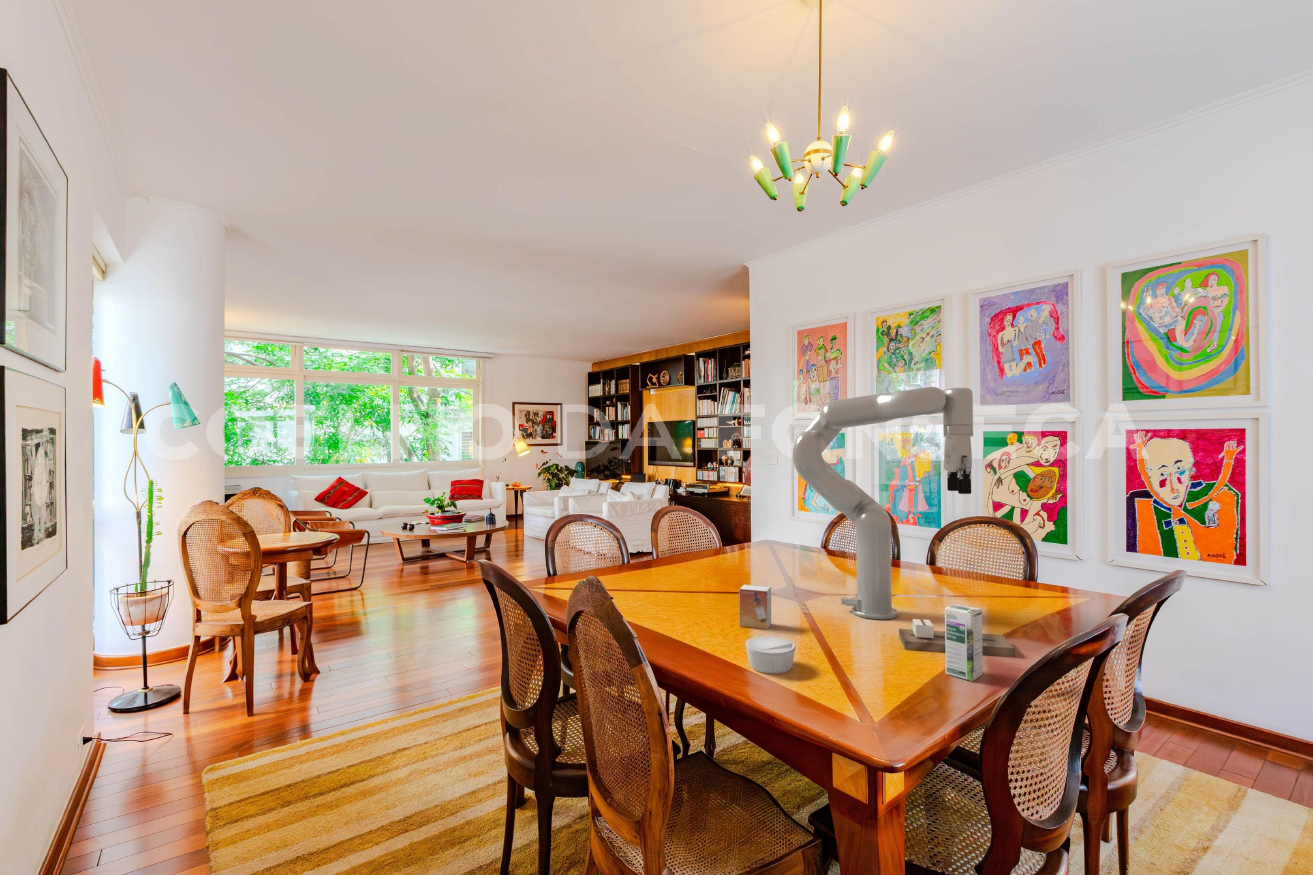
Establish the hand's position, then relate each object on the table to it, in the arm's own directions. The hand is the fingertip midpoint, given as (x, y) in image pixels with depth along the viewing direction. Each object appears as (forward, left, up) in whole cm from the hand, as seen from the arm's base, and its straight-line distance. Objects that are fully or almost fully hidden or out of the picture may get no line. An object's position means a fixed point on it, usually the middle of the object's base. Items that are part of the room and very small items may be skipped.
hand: (959, 492), depth 169 cm
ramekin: (-50, -47, -36) cm, 78 cm away
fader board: (-7, -24, -36) cm, 44 cm away
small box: (-56, -17, -36) cm, 69 cm away
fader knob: (-14, -24, -33) cm, 43 cm away
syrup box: (-9, -43, -36) cm, 57 cm away
